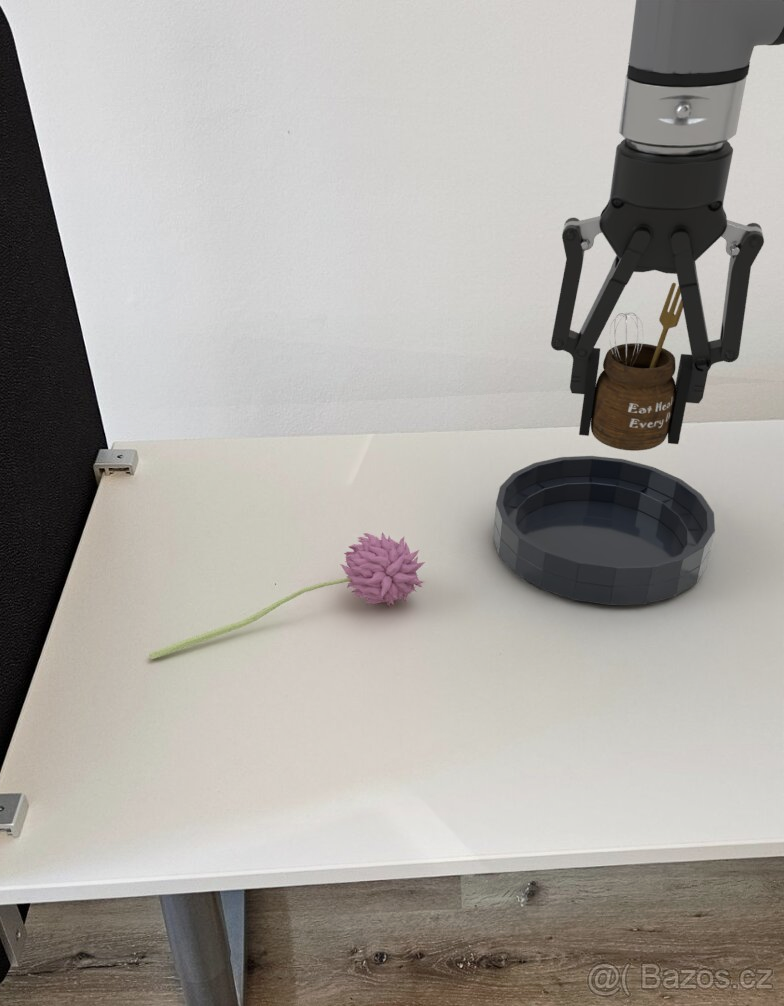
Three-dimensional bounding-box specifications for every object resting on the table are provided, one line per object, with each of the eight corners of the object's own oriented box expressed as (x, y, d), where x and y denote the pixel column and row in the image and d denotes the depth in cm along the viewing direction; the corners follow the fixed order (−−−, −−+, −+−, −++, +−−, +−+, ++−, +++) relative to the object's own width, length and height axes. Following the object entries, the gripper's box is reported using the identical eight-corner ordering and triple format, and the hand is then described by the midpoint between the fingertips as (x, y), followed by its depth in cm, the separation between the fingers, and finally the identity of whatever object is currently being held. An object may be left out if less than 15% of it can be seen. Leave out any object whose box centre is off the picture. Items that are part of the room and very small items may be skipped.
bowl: (702, 508, 102) (711, 468, 100) (707, 626, 88) (718, 582, 86) (505, 485, 108) (509, 446, 106) (480, 591, 94) (484, 549, 92)
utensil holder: (572, 431, 88) (590, 293, 82) (628, 409, 90) (650, 274, 84) (629, 461, 84) (652, 317, 77) (686, 437, 86) (714, 296, 79)
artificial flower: (176, 717, 88) (444, 602, 92) (152, 648, 85) (430, 532, 89) (154, 678, 94) (407, 571, 98) (131, 612, 91) (392, 505, 95)
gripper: (528, 153, 75) (502, 442, 87) (837, 157, 68) (761, 467, 81) (537, 125, 81) (512, 400, 93) (823, 126, 74) (754, 421, 87)
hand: (628, 431), depth 87 cm, fingers closed on utensil holder, 6 cm apart
